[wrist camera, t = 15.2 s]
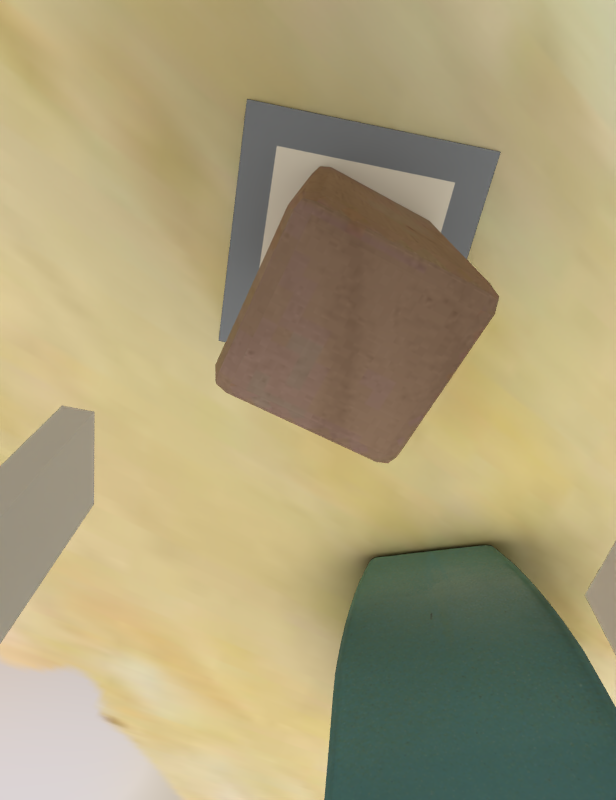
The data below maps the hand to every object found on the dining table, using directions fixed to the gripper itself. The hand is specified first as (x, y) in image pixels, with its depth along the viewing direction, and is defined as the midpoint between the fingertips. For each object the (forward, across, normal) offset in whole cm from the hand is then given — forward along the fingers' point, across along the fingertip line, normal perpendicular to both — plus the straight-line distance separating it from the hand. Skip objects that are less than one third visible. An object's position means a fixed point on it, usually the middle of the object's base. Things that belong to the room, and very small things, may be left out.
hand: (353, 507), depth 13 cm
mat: (+32, 0, 0) cm, 32 cm away
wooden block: (+32, 0, 0) cm, 32 cm away
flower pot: (+32, +17, -33) cm, 49 cm away
